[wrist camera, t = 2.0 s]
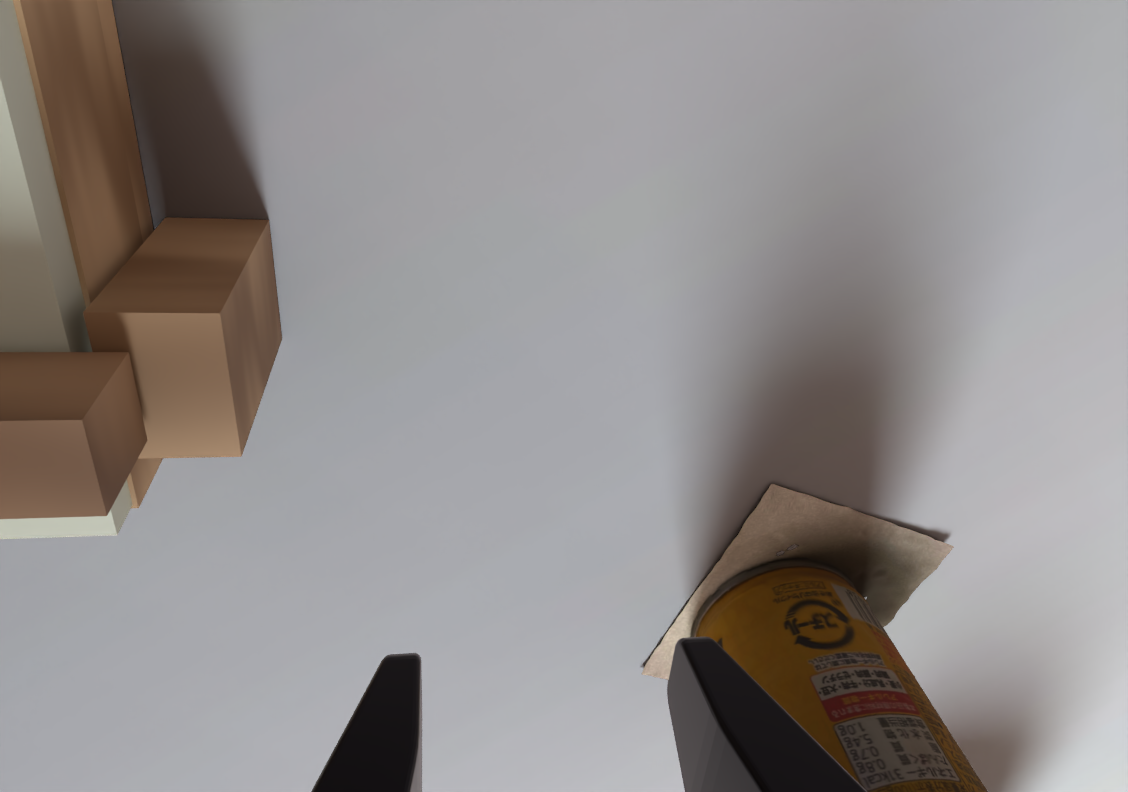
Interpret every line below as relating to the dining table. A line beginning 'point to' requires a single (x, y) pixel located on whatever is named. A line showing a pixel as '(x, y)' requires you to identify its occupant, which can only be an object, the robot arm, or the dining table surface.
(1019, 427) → the dining table surface
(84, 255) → the brown shallow open box
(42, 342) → the lid
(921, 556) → the yellow can
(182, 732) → the dining table surface
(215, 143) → the dining table surface
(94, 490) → the brown wooden bar
